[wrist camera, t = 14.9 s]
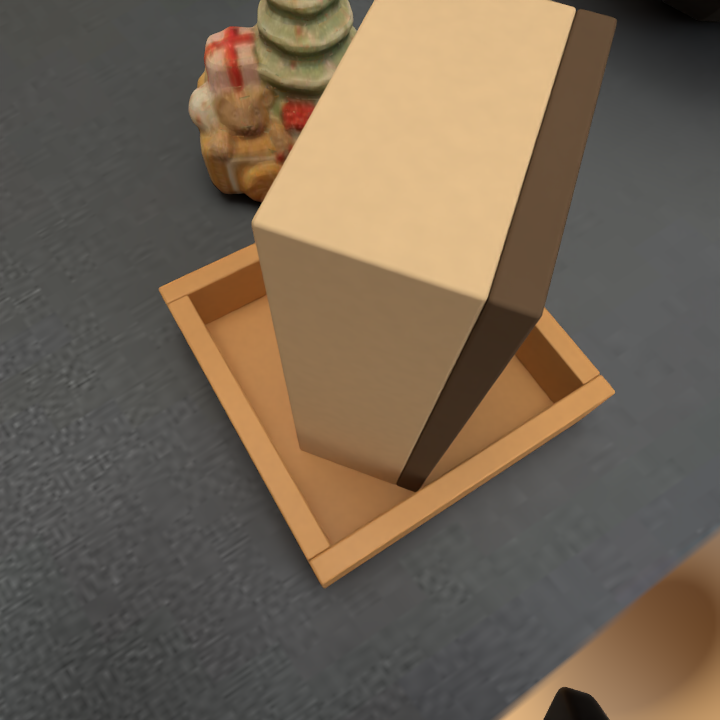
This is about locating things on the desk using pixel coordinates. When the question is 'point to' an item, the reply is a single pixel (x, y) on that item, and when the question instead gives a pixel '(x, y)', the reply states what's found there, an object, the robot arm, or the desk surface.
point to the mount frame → (342, 484)
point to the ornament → (266, 88)
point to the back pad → (425, 220)
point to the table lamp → (698, 8)
